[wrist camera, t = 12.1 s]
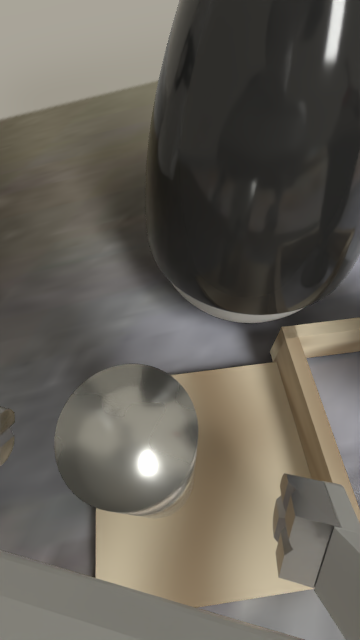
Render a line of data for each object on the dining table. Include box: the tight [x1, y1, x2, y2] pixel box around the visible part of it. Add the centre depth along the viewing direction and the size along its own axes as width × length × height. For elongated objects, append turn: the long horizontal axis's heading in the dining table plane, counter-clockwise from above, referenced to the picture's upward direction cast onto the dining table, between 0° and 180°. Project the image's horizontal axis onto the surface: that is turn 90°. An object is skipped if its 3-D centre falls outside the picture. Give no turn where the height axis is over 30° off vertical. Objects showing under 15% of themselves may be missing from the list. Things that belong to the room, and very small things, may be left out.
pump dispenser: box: [145, 0, 360, 323], centre depth 13 cm, size 10×10×15 cm
